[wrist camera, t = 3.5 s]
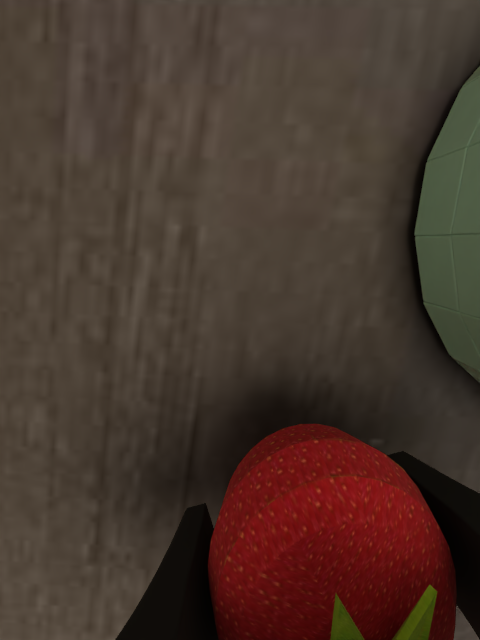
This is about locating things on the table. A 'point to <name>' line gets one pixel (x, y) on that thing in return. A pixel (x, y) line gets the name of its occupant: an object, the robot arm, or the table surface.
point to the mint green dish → (453, 230)
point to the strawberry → (328, 546)
